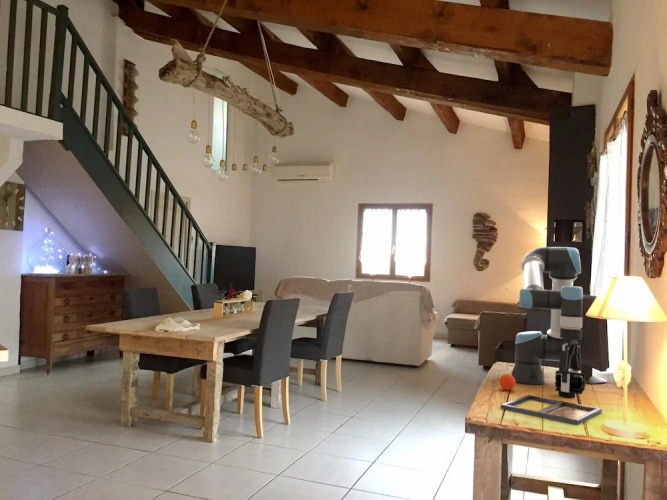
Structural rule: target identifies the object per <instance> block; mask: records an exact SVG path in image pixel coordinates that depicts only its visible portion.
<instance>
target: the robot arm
mask: <svg viewBox="0 0 667 500" xmlns="http://www.w3.org/2000/svg"><path fill="white" fill-rule="evenodd" d="M581 266H582V264H581V258H580V252H579V249H577V248H576V247H568V246H540V247H536V248H533V249H531V250H530V251H528V252H527V253H526V254H525V255H524V257H523V258H522V260H521V271H522V272H523V288H521V289H520V290H519V292H518V294H519V295H518V297H519V299H518V303H519V307H520V308H525V309H540V310H541V309H543V310H544V309H545V310H550V311H551V313H550V328H549V329H548V330H547V332H546V334H543V333H542V331H537V330H533V331H531V330H530V331H523V332H518V333H517V334H516V335H515V342H514V344H515V354H514V365H513V368H512V371H511V374H510V375H512V376H513V377H514V378H515V381H516V383H518V384H519V383H520V384H523V385H524V384H525V385H526V384H527V385H543V384H545V381H546V379H545V378H546V377H545V375H544V372H543V368H542V361H550V362H551V361H553V362H559V363H558V370H559V373H561V391H563V392H569V382H570V374H568V373H569V371H571V372H573V373H580V372H581V371H582V357H581V345H582V343H581V342H580V341H579V340H582V339H583V330H582V328H583V303H584V302H583V299H584V292H583V287H582V286H574V282H575V280H576V279H577V278H578V275H580V274H582V267H581ZM543 273H548V276H549V278H550V279H551V280H552V283H551V284H552V287H551V289H545V288H544V286H545V285H544V275H543ZM578 341H579V342H578ZM570 367H571V370H570Z"/></svg>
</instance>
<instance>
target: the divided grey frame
mask: <svg viewBox="0 0 667 500" xmlns="http://www.w3.org/2000/svg"><path fill="white" fill-rule="evenodd" d="M528 401H535V402H540V403H541V402H542V403H546V404H550V405H548V406H547V407H543V408H541V409H539V410H533V409H527V408H524V407H518V406H517V405H521V404H522V403H525V402H528ZM500 409H501V410H507V411H512V412H516V413H520V414H525V415H531V416H534V417H539V418H544V419H548V420H554V421H558V422H562V423H568V424H570V425H571V424H572V425H576V426H578V425H581V424H582V423H585V422H586V421H589V420H590V419H593V418H594V417H596V416H599V415H600V414H603V413H602V412H603V409H602V408H599V407H595V406H588V405H585V404H584V405H583V404H579V403H572V402H570V401H569V402H568V401H565V400H564V401H563V400H557V399H554V398H553V399H552V398H547V397H544V396H543V397H541V396H536V395H531V394H527V395H524V396H521V397H518V398H515V399H512V400H510V401H507V402H504V403H501V404H500Z"/></svg>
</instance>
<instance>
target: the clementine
mask: <svg viewBox="0 0 667 500" xmlns="http://www.w3.org/2000/svg"><path fill="white" fill-rule="evenodd" d="M499 376H500V377H499ZM498 377H499V380H498V383H499V386H500V387H501V389H503V390H504V391H511V390H514V388H515V387H516V384H517V382H516V381H515V378H514V377H513V376H512V375H511V374H509V373H502V374H499V375H498Z"/></svg>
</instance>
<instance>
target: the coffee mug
mask: <svg viewBox="0 0 667 500" xmlns="http://www.w3.org/2000/svg"><path fill="white" fill-rule="evenodd" d="M557 371H559V369H558V370H557ZM569 372H571V370H569ZM557 393H558V396H559V397H561V398H566V399H574V398H576V393H568V392H560V391H557Z"/></svg>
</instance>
